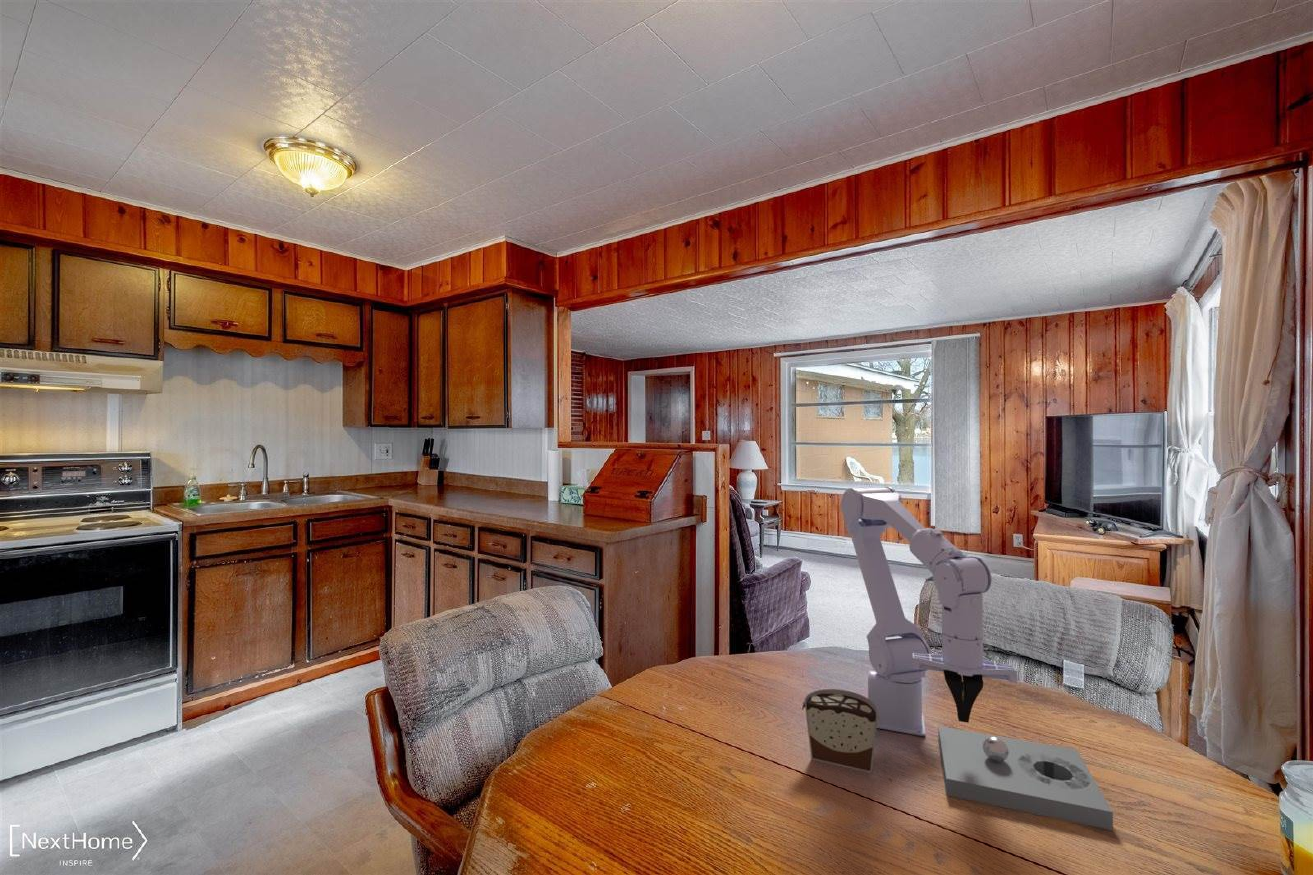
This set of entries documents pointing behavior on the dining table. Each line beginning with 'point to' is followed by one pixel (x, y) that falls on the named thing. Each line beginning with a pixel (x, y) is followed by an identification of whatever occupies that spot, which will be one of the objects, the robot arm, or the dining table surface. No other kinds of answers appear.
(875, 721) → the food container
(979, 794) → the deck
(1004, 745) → the ball
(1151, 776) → the dining table surface
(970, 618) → the robot arm
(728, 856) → the dining table surface
